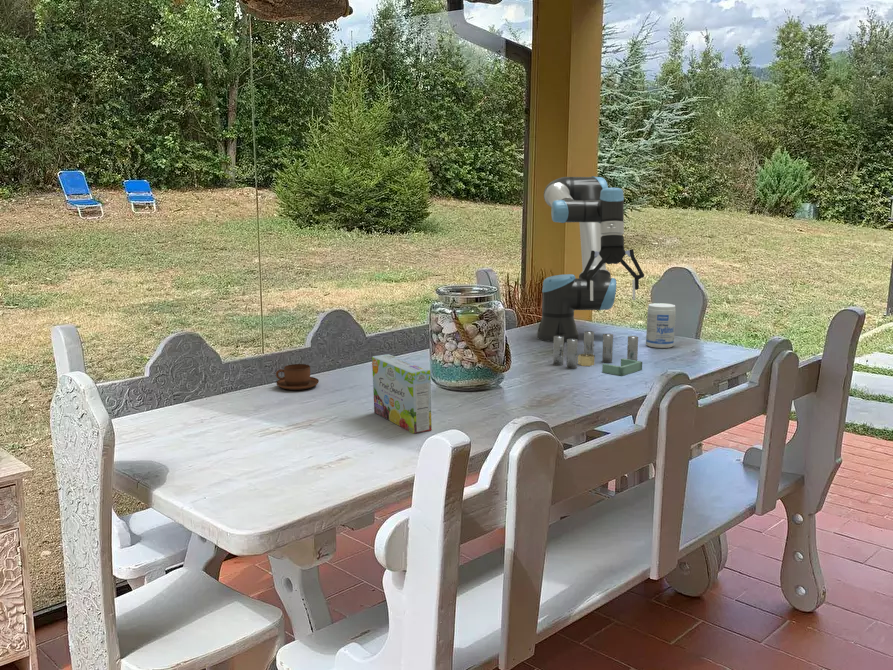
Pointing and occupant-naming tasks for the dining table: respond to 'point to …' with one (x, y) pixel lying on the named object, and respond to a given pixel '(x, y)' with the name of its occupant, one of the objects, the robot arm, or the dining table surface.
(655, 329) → the supplement tub
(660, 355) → the dining table surface
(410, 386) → the snack box
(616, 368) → the tray
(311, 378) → the cup and saucer
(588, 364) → the nut
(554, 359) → the spacers
